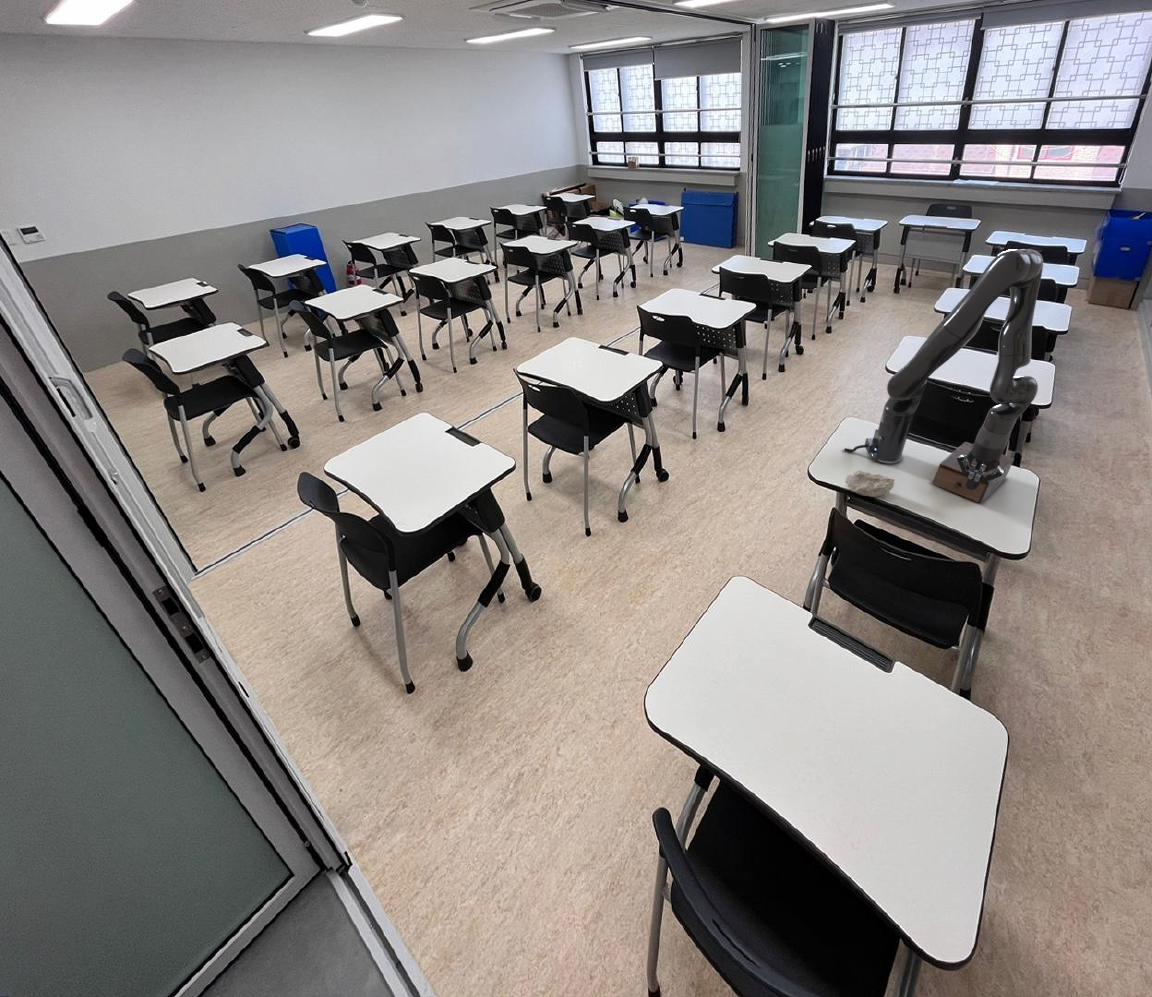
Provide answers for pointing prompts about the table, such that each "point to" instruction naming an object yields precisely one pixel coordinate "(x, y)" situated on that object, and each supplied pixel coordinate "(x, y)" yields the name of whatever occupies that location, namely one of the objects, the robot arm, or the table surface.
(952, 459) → the cabinet
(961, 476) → the drawer
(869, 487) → the stone
